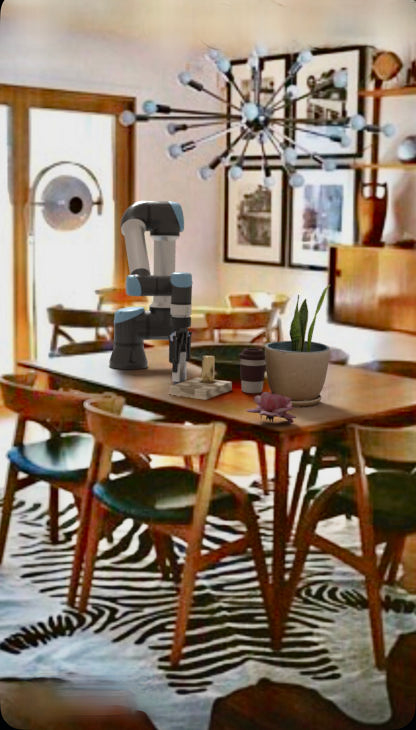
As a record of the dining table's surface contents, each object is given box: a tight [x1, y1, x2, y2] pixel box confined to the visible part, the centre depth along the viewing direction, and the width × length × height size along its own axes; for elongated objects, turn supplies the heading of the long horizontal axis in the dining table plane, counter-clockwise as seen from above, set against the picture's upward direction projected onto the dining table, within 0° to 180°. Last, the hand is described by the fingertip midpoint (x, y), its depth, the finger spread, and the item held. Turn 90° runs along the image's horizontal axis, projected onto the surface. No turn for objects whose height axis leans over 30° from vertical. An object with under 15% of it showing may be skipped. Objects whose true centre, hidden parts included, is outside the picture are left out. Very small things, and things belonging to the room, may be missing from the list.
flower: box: [245, 391, 297, 425], centre depth 307 cm, size 15×15×10 cm
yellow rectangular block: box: [201, 355, 216, 384], centre depth 355 cm, size 4×4×12 cm
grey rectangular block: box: [172, 351, 187, 385], centre depth 364 cm, size 4×4×12 cm
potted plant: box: [264, 284, 331, 408], centre depth 336 cm, size 21×22×40 cm
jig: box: [168, 377, 233, 401], centre depth 352 cm, size 20×14×3 cm
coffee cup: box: [238, 347, 266, 394], centre depth 355 cm, size 10×10×15 cm
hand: (179, 380), depth 364 cm, fingers closed on grey rectangular block, 4 cm apart
